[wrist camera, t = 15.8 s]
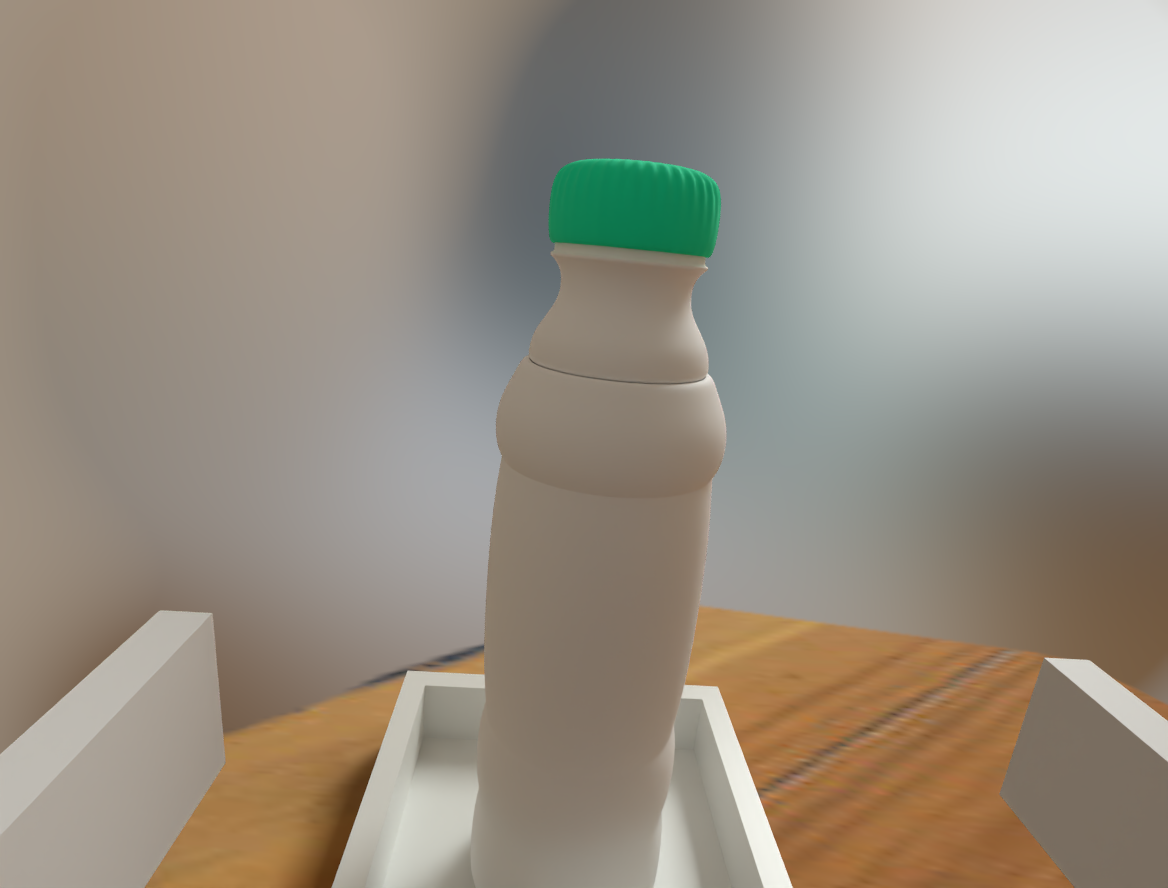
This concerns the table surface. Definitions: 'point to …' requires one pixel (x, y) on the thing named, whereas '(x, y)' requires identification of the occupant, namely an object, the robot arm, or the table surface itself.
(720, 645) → the table surface
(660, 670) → the water bottle
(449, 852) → the white tray
